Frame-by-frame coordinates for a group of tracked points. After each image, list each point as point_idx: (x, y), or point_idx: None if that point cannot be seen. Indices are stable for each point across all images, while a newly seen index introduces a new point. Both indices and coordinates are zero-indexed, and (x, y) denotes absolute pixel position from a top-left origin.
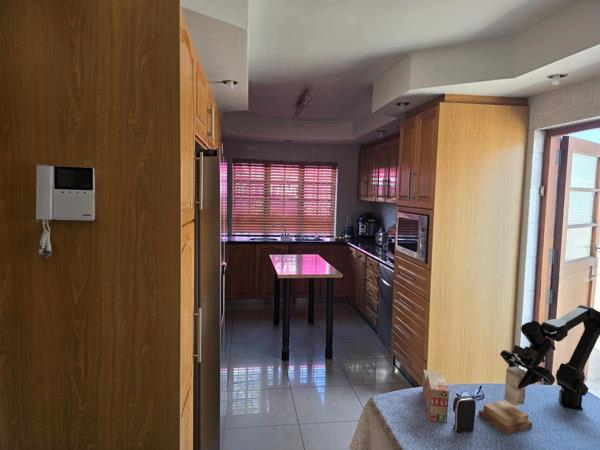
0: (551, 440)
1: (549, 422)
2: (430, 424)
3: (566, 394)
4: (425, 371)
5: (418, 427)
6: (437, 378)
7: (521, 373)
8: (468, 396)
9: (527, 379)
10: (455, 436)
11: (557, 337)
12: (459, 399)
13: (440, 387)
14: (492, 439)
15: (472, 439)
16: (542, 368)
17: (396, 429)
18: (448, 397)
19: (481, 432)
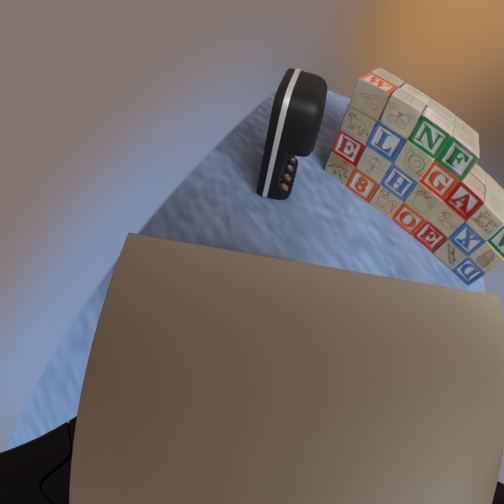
0: (59, 389)
1: None
2: (330, 140)
3: None
4: None
5: (327, 118)
6: (446, 120)
7: (90, 429)
8: (311, 94)
9: (39, 449)
10: (262, 143)
11: None
12: (303, 71)
13: (385, 81)
14: (191, 206)
15: (228, 162)
16: None
17: (333, 95)
18: (351, 99)
19: (237, 209)
